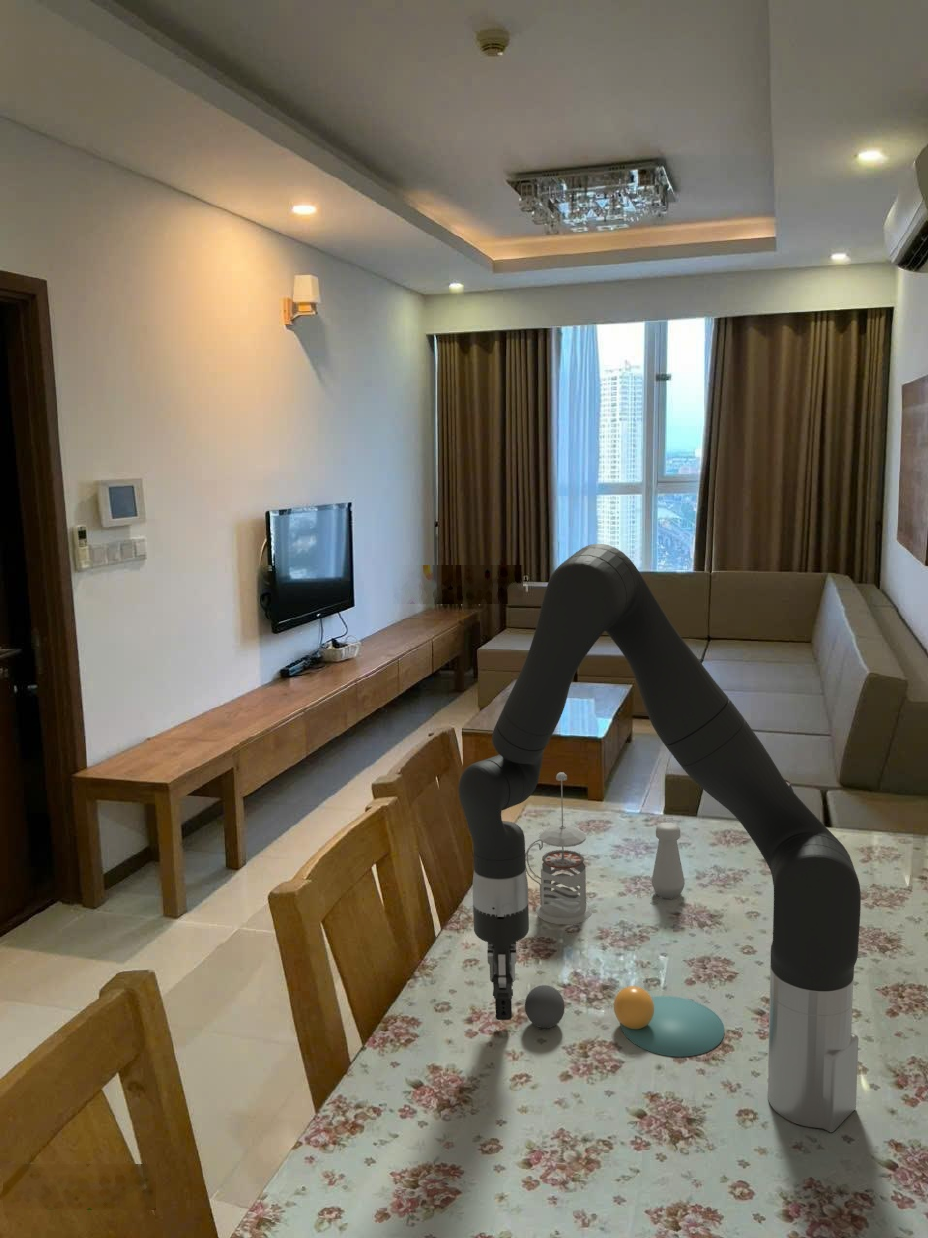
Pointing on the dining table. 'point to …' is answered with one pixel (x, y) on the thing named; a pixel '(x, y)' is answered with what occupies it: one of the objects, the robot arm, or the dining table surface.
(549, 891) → the french press
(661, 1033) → the teal mark
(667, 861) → the salt shaker
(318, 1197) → the dining table surface
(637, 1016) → the orange ball
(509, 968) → the robot arm
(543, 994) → the charcoal ball
